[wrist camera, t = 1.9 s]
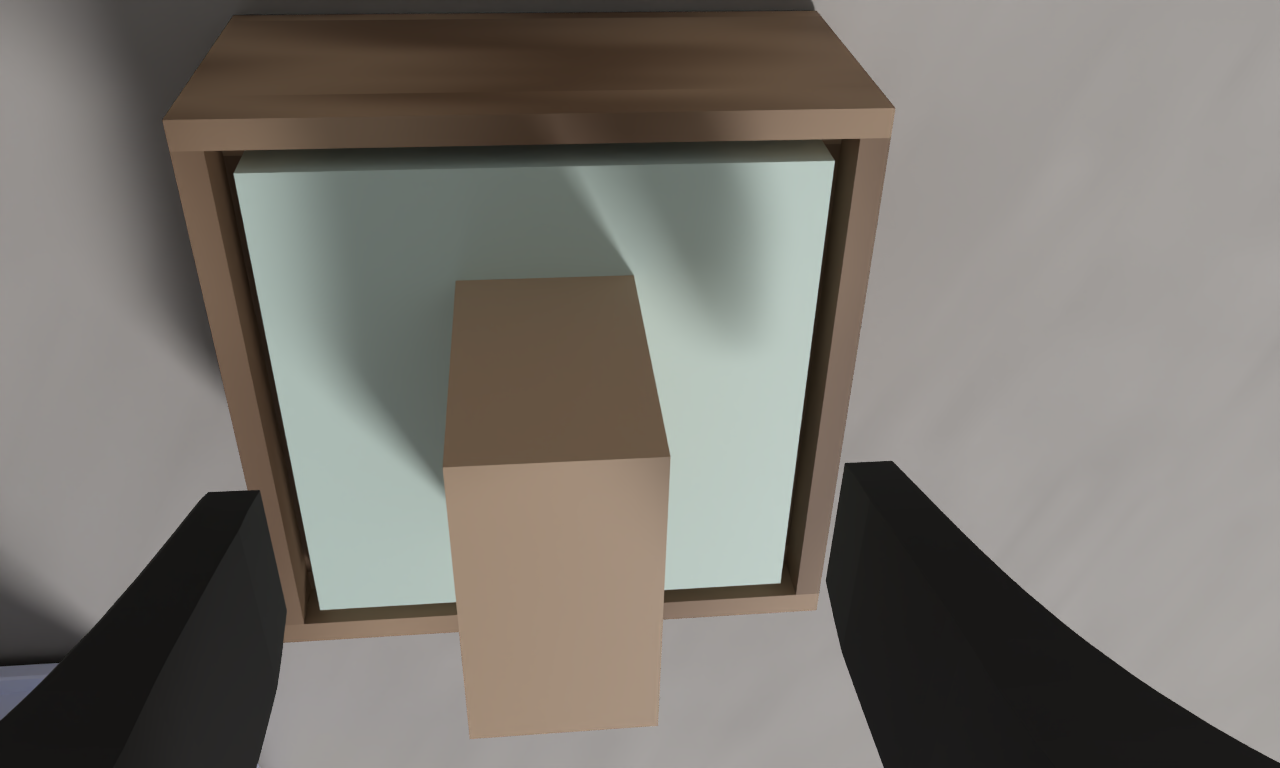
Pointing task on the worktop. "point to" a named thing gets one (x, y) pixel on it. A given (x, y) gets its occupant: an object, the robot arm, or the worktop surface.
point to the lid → (541, 391)
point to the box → (526, 115)
